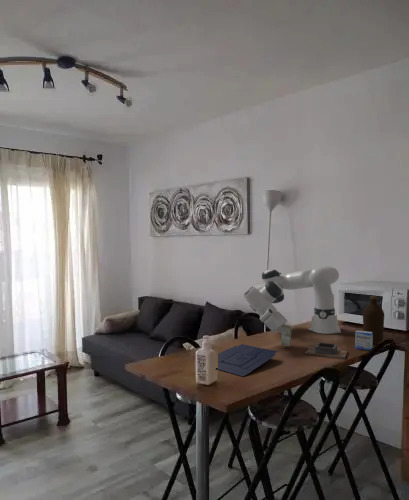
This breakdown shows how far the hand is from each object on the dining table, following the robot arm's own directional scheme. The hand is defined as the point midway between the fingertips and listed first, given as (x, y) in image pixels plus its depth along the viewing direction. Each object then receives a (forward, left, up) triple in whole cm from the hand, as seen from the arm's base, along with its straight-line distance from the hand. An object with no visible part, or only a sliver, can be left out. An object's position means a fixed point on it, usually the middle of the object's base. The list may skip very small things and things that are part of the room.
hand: (287, 333), depth 203 cm
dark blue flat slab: (+32, -13, -8) cm, 36 cm away
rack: (+2, +19, -8) cm, 21 cm away
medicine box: (-15, +35, -8) cm, 39 cm away
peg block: (0, -1, -6) cm, 6 cm away
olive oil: (-29, +39, -8) cm, 50 cm away
